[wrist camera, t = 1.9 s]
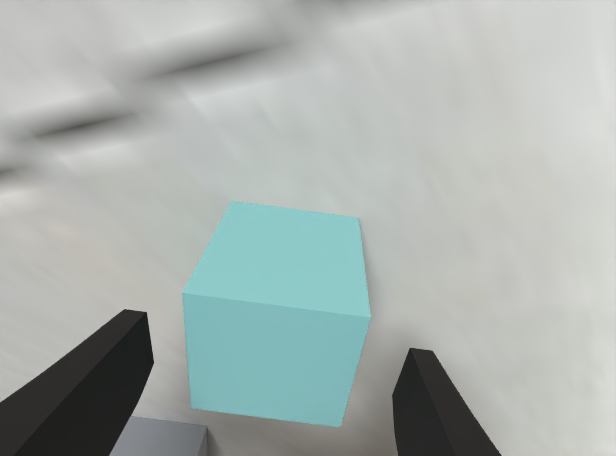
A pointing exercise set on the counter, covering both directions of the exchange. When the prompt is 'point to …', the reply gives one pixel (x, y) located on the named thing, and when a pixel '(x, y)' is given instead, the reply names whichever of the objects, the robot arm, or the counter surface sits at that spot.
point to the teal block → (277, 315)
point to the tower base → (160, 439)
